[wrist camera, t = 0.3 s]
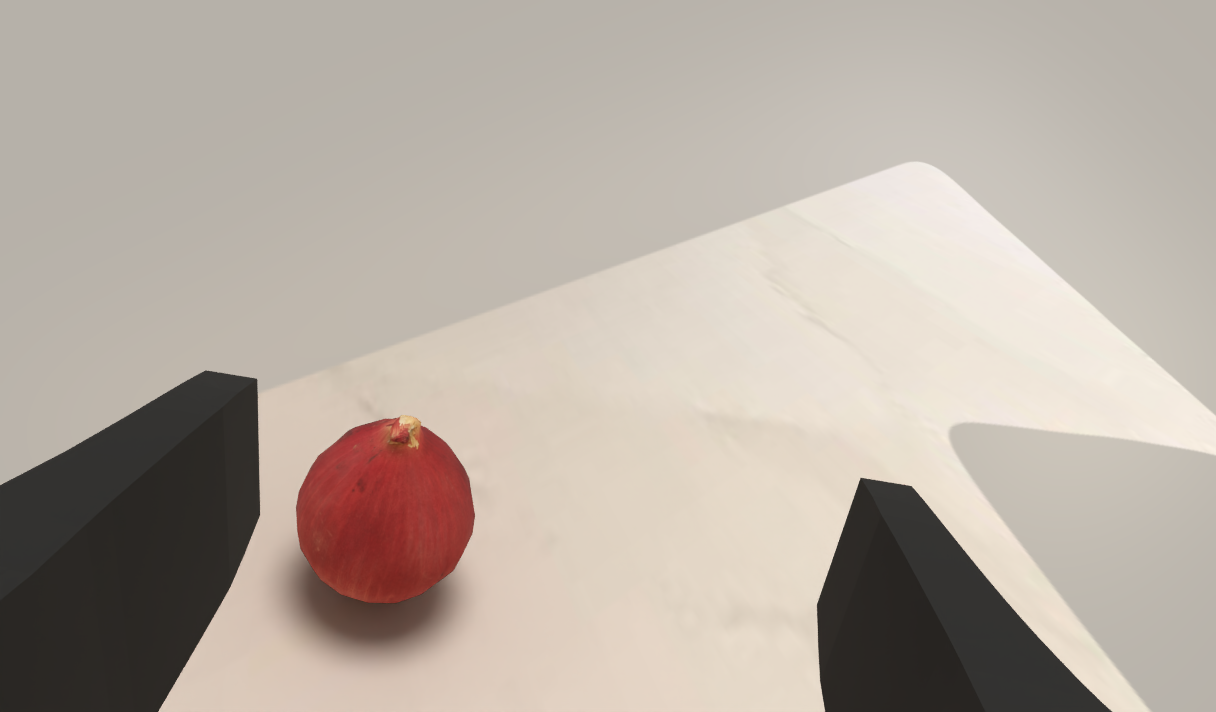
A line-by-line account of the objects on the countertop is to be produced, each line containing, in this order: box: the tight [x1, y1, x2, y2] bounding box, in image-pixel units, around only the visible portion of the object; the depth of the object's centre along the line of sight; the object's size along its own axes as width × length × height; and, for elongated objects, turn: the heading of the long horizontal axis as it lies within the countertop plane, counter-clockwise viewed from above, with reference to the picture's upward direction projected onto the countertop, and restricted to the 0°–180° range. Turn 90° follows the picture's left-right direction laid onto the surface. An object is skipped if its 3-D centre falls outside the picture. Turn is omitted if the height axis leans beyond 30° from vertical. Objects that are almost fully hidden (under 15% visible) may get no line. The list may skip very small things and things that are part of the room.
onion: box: [296, 415, 475, 603], centre depth 35 cm, size 6×6×8 cm
